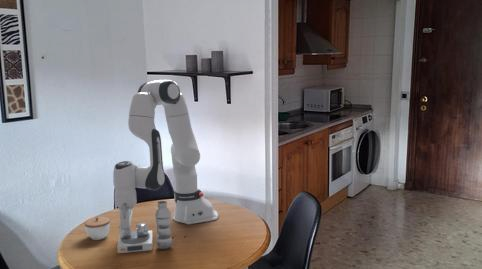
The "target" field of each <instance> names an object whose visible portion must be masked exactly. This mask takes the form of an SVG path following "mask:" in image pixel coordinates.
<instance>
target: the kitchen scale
mask: <svg viewBox="0 0 482 269" xmlns="http://www.w3.org/2000/svg"><path fill="white" fill-rule="evenodd" d="M153 241H154V240H153V230H148V236H147V237H145V238H138V237H137V230H133V231H132V230H131V238H129V239H120V236H119V237H118V240H117V246H116V247H117V248H116V250H117V254H123V253H124V254H125V253H132V252H133V253H134V252H135V253H136V252H145V251H152V250H153V243H154V242H153Z"/></svg>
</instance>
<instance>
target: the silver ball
mask: <svg viewBox="0 0 482 269" xmlns="http://www.w3.org/2000/svg"><path fill="white" fill-rule="evenodd" d="M135 229H136V230H135V231H137V237H138V238H145V237H147V236H148V231H149V224H148V223H147V222H139V223H137V224H136V226H135Z"/></svg>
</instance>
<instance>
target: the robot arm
mask: <svg viewBox="0 0 482 269" xmlns="http://www.w3.org/2000/svg"><path fill="white" fill-rule="evenodd" d="M180 89H181V88H180V86H179V84H178V83H177V82H175V80H171V79H159V80H157V79H156V80H153V81H148V82H144V83H142V84H141V85H140V86H139V88H138V90H137V93H134V94H133V96H132V99H131V103H130V106H129V112H128V121H127V122H128V125H127V126H128V129H129V131H130V132H131V133H132V135H133V136H134V137H136V138H139V140H142V141H144V142H145V143H146V144H147V146H148V148H149V162H150V163H149V166H147V165H137V164H134V163H133V162H132V161H129V160H125V161H124V160H123V161H120V162H117V163H116V164H115V165H114V167H113V174H112V175H113V179H112V180H113V181H112V182H113V187H114V193H113V194H114V206H115V207H116V208H117V207H118V210H120V211H119V221H120V224H119V226H120V227H121V229H124V231H125V235H129V228H130V225H131V223H132V217H133V211H134V207H135V205H136V204H137V202H138V201H137V191H136V188H138V189H147V190H149V191H157V190H159V189H160V188H161V187H163V185H164V184H165V181H166V174H165V170H164V163H163V151H162V150H163V148H162V138H161V134H160V131H159V130H157V127H156V123H155V116H156V114H155V113H156V112H155V110H156V108H157V106H160V105H161V106H162V107H163V109H164V115H165V119H166V120H165V121H166V125H167V130H168V133H169V136H170V138H171V142H172V144H171V145H170V153H171V161H172V170H173V173H174V192H173V196H174V203H175V205H174V212H173V217H172V219H173V220H174V221H175V222H178V223H183V224H186V225H193V224H198V223H204V222H211V221H216V220H218V218H219V213H218V212H217V210H215V209H214V206H213V204H212V201H209V200H208V199H207V198H205V197H204V193H203V191H202V190H201V189H200V188H199V189H198V174H197V169H196V165H197V164H198V163H199V162H200V160H201V153H200V150H199V148H198V143H197V140H196V137H195V134H194V132H193V127H192V124H191V123H192V122H191V119H190V113H189V109H188V105H187V102H186V99H185V97H184V95H183V93H181V90H180Z"/></svg>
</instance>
